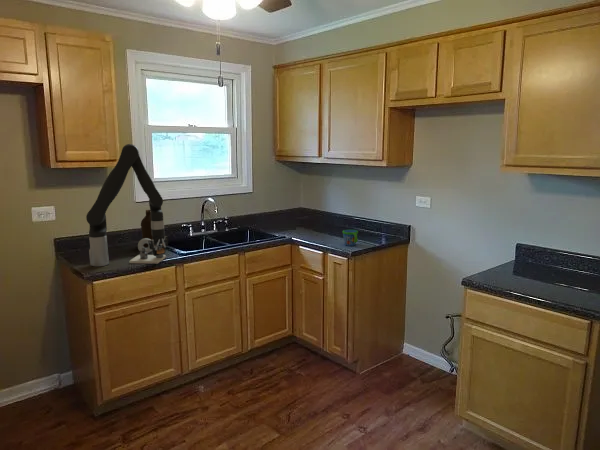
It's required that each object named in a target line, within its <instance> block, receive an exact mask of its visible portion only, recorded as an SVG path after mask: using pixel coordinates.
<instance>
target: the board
mask: <svg viewBox="0 0 600 450" xmlns="http://www.w3.org/2000/svg"><path fill="white" fill-rule="evenodd" d="M166 258H167V256H166V254H163V257H162V258H156V256H154V255H153V254H148V258H147V259H140V254H137V255H136V256H135V257H133V258H131V259H130V260H129V264H156V265H157V264H159V263H160V262H162V261H163V260H164V259H166Z"/></svg>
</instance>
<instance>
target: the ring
mask: <svg viewBox="0 0 600 450" xmlns="http://www.w3.org/2000/svg"><path fill="white" fill-rule="evenodd" d="M165 251H166V250H165ZM165 251H164V248H162V247H161V250H157V254H161V253H164V252H165ZM165 253H166V252H165Z"/></svg>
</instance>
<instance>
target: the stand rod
mask: <svg viewBox="0 0 600 450" xmlns="http://www.w3.org/2000/svg"><path fill="white" fill-rule="evenodd" d="M145 248H146V247H144V246H143V248H142V252H140V251H139V255H140V259H147V258H148V255H149V253H148V252H145Z"/></svg>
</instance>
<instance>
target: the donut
mask: <svg viewBox="0 0 600 450" xmlns="http://www.w3.org/2000/svg"><path fill="white" fill-rule="evenodd" d="M149 240H151V239H148V238H144V239H143V238H141V239H140V240H139V241H138V244H137V249H138V251H139V253H140V252H142V248H143V247H144V246H143V245H144V244H145V243H147V244H148V245H149V242H148V241H149ZM145 252H148V254H149V253H152V252H153V250H151V249H150V247H149V246H148V247H145Z"/></svg>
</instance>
